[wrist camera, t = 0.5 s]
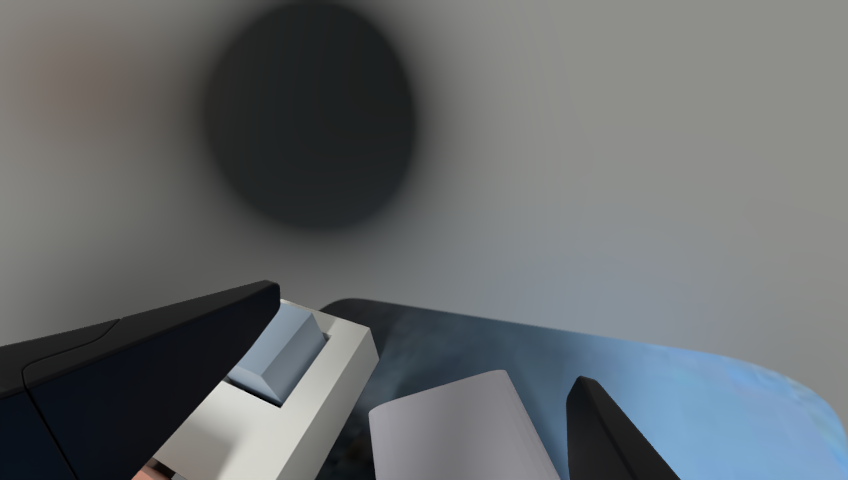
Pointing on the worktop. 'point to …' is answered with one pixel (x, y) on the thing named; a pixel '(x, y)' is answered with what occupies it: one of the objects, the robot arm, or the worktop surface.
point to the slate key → (280, 355)
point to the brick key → (150, 474)
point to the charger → (459, 434)
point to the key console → (275, 417)
